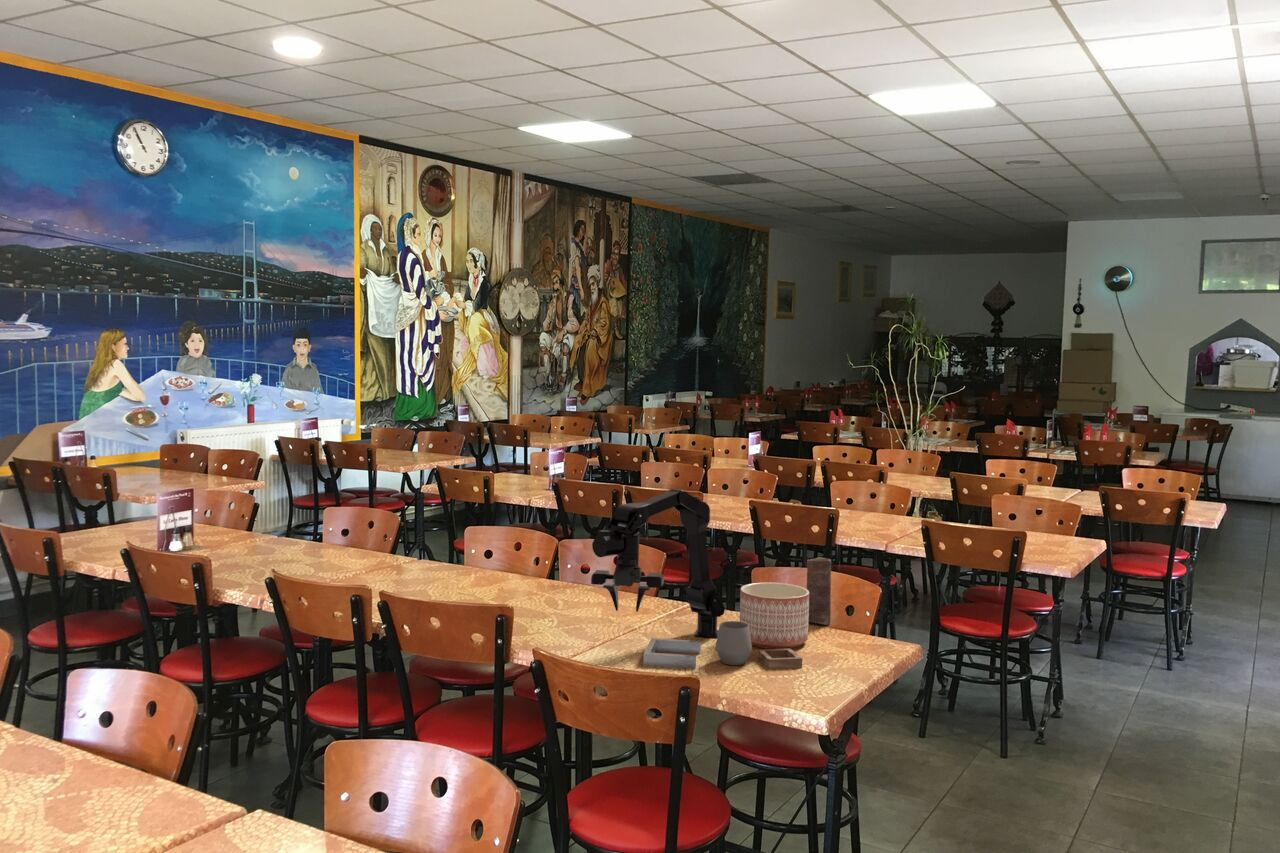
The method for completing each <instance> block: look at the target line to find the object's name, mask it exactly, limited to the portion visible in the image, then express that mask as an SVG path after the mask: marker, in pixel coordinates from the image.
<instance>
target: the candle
mask: <svg viewBox="0 0 1280 853" xmlns="http://www.w3.org/2000/svg"><path fill="white" fill-rule="evenodd" d="M806 564H807V565H806V567H807V568H806V589H807V590H808V591H809V618H808V622H811V623H814V624H820V625H825V626H830V625H831V621H832V620H831V618H832V617H831V615H832V614H831V612H832V608H831V607H832V605H831V604H832V603H831V602H832V601H831V600H832V599H831V598H832V595H831V593H832V592H831V590H832V585H831V584H832V559H830V558H825V557H819V556H818V557H816V558H811V559H807V560H806Z"/></svg>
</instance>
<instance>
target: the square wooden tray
mask: <svg viewBox="0 0 1280 853" xmlns="http://www.w3.org/2000/svg"><path fill="white" fill-rule="evenodd" d="M757 660H759V662H760V663H762V664H763V665H764V666H765V667H766V668H767V669H768V670H776V669H777V670H778V669H781V670H782V669H797V668H798V669H799V668H803V658H802V656H800V655H799V654H797V653H796V652H795V651H794V650H793V648H789V649H766V648H763V649H758V650H757Z"/></svg>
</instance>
